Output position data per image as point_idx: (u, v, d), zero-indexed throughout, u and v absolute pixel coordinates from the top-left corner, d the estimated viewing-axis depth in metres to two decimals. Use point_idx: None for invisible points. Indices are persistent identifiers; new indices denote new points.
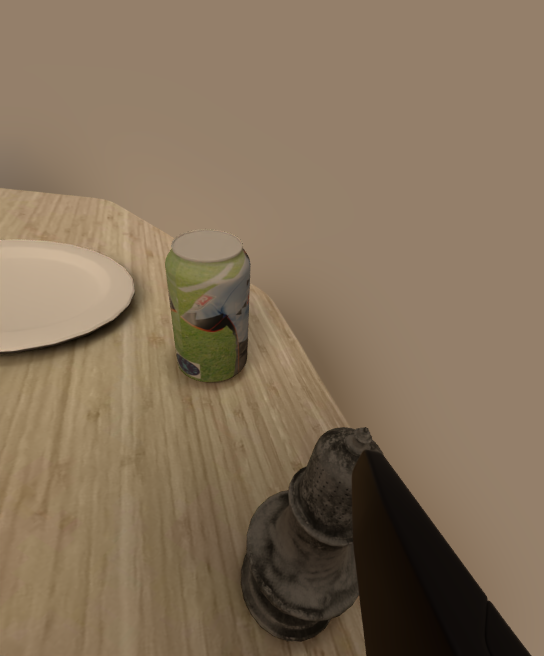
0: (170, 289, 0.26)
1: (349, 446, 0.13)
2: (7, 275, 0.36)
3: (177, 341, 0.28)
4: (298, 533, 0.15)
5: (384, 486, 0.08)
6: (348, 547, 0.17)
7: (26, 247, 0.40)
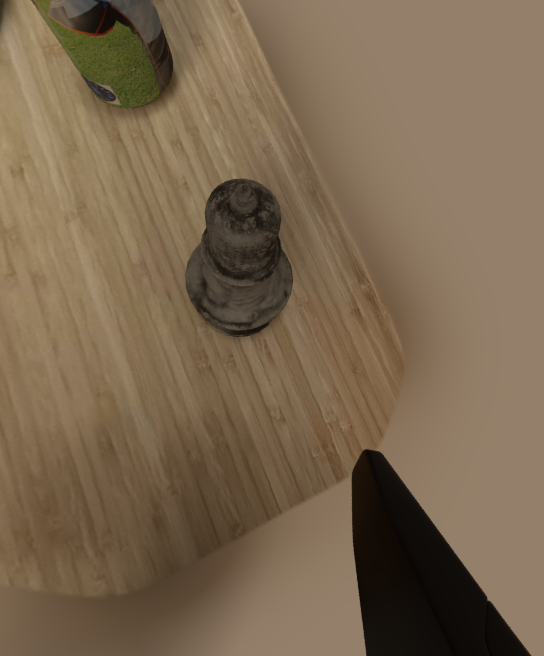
0: None
1: (233, 205, 0.12)
2: None
3: (68, 55, 0.21)
4: None
5: (384, 486, 0.08)
6: (275, 275, 0.19)
7: None
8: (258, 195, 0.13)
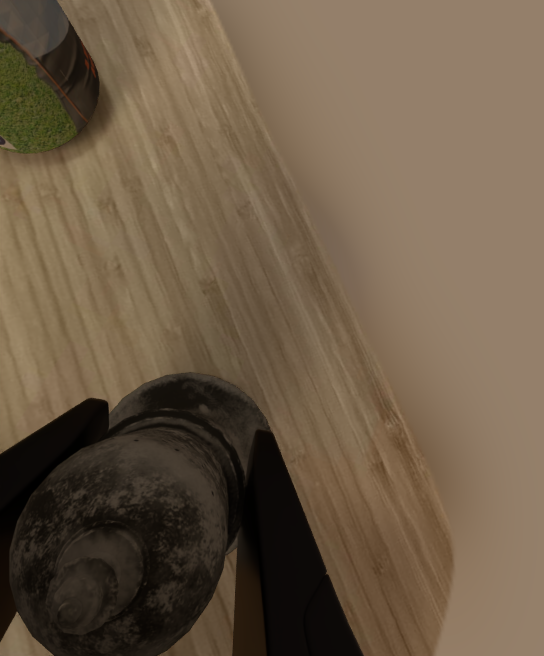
0: None
1: None
2: None
3: None
4: None
5: (260, 464, 0.07)
6: (245, 470, 0.11)
7: None
8: (150, 534, 0.04)
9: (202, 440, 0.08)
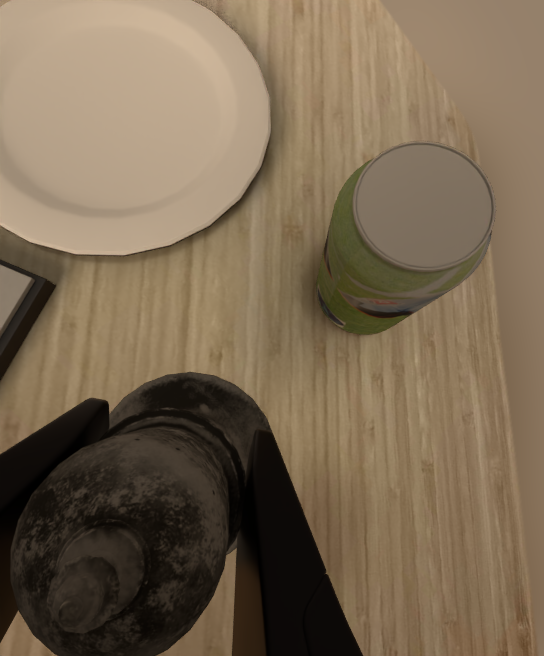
0: (332, 256, 0.15)
1: None
2: (98, 76, 0.25)
3: (323, 290, 0.20)
4: None
5: (260, 464, 0.07)
6: (245, 469, 0.11)
7: (114, 2, 0.25)
8: (151, 533, 0.04)
9: (203, 439, 0.08)
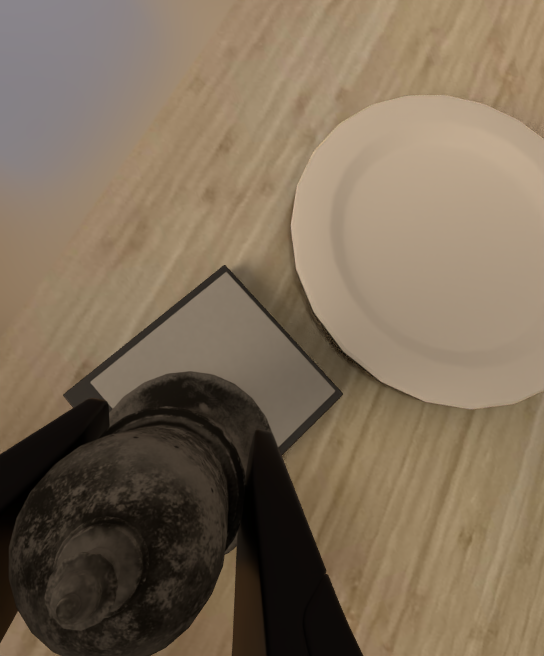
0: None
1: None
2: (445, 198, 0.24)
3: None
4: None
5: (260, 464, 0.07)
6: (245, 468, 0.11)
7: (488, 134, 0.24)
8: (149, 530, 0.04)
9: (202, 438, 0.08)
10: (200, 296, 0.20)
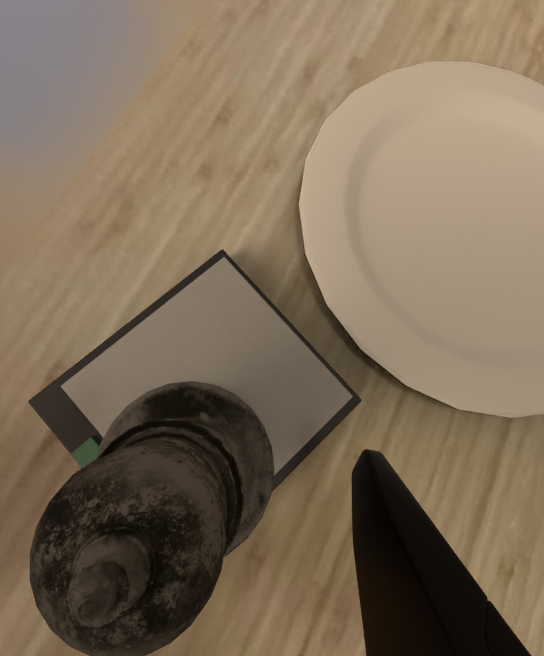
0: None
1: None
2: (473, 176, 0.21)
3: None
4: None
5: (384, 486, 0.08)
6: (243, 475, 0.12)
7: (521, 104, 0.21)
8: (156, 539, 0.05)
9: (202, 449, 0.08)
10: (193, 285, 0.17)
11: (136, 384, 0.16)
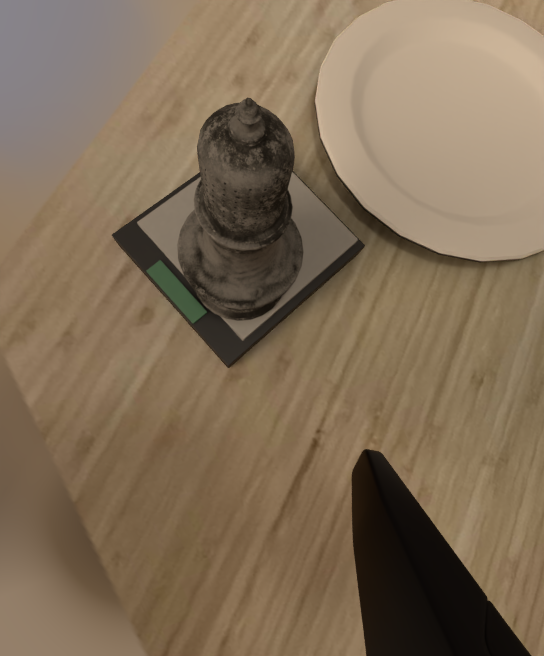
0: None
1: (234, 131, 0.09)
2: (455, 87, 0.26)
3: None
4: (214, 240, 0.14)
5: (384, 486, 0.08)
6: (282, 245, 0.16)
7: (494, 30, 0.26)
8: (266, 121, 0.10)
9: None
10: None
11: None
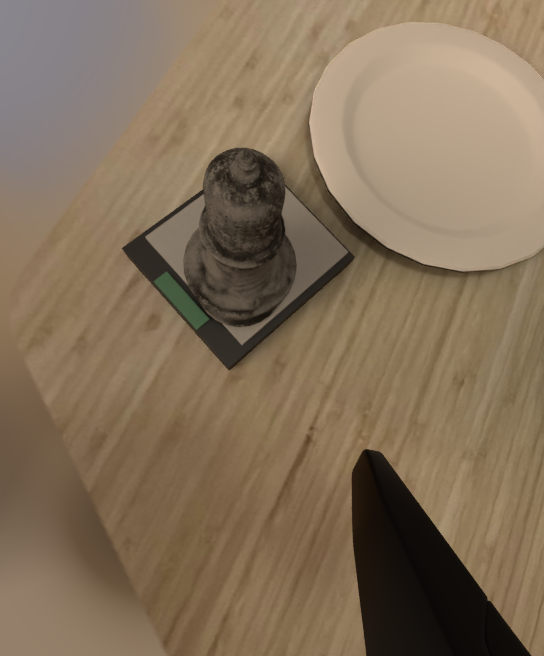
0: None
1: (234, 174, 0.11)
2: (440, 108, 0.28)
3: None
4: (216, 258, 0.16)
5: (384, 486, 0.08)
6: (278, 260, 0.18)
7: (476, 54, 0.28)
8: (261, 164, 0.12)
9: None
10: None
11: None
